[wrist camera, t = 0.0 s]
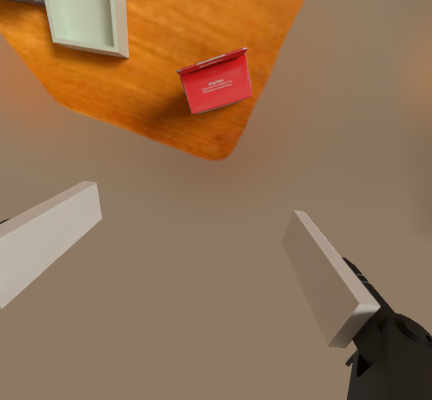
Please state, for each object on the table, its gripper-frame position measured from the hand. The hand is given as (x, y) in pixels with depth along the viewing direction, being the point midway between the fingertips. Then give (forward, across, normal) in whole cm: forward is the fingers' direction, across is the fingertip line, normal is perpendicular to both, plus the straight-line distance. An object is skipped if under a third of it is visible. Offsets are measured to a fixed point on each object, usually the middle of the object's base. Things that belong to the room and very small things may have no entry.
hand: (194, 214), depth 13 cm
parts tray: (+28, -21, +18) cm, 40 cm away
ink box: (+28, 0, +9) cm, 30 cm away
